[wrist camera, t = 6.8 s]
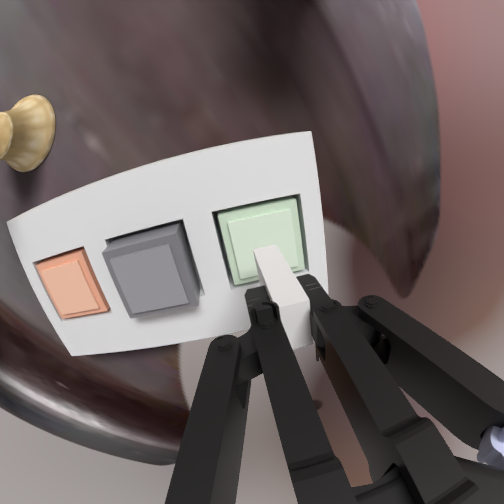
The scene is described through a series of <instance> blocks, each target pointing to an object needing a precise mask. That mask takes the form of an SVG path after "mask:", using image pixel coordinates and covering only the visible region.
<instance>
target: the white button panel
mask: <svg viewBox="0 0 504 504" xmlns="http://www.w3.org/2000/svg"><path fill="white" fill-rule="evenodd" d="M289 195H291V196H292V197H293V198H295V199H296V202H297V209H298V216H299V224H300V232H301V240H302V248H303V256H304V265H305V269H303V270H299V271H295V272H293V273H294V275H295V276H296V277H297V276H301V275H305V274H310V275H312V276H314V277H315V278H316V279H317V280H318V282H319V283H320V285H321V286H322V287H323V289H324V290H325V291H326V293H327V294H328V278H327V263H326V249H325V237H324V226H323V216H322V207H321V198H320V189H319V181H318V174H317V166H316V159H315V153H314V146H313V140H312V134H311V131H307V132H295V133H287V134H280V135H274V136H268V137H262V138H256V139H250V140H245V141H240V142H234V143H229V144H225V145H220V146H215V147H211V148H207V149H202V150H198V151H194V152H190V153H186V154H182V155H178V156H175V157H171V158H167V159H164V160H160V161H157V162H153V163H150V164H147V165H143V166H140V167H137V168H134V169H131V170H128V171H125V172H122V173H119V174H116V175H113V176H110V177H107V178H104V179H102V180H99V181H96V182H93V183H91V184H88V185H86V186H83V187H81V188H78V189H76V190H73V191H71V192H68V193H66V194H63V195H61V196H59V197H56V198H54V199H52V200H50V201H47V202H45V203H43V204H41V205H39V206H37V207H34V208H32V209H30V210H28V211H26V212H24V213H23V214H21V215H19V216H17V217H15V218H13V219H11V220H10V221H8V222H7V225H8V228H9V231H10V234H11V237H12V240H13V243H14V245H15V248H16V251H17V253H18V256H19V258H20V261H21V263H22V265H23V268H24V270H25V272H26V275H27V277H28V279H29V281H30V283H31V285H32V288H33V290H34V292H35V294H36V296H37V298H38V300H39V302H40V303H41V305H42V307H43V309H44V311H45V313H46V315H47V316H48V318H49V320H50V322H51V323H52V325H53V327H54V329H55V330H56V332H57V334H58V335H59V337H60V338H61V340H62V342H63V343H64V345H65V346H66V348H67V349H68V351H69V352H70V354H71V355H72V356H79V355H91V354H101V353H111V352H120V351H128V350H136V349H144V348H151V347H158V346H164V345H171V344H177V343H183V342H189V341H194V340H200V339H205V338H211V337H216V336H221V335H226V334H231V333H236V332H240V331H245V330H249V329H250V327H251V322H250V318H249V314H248V309H247V304H246V300H245V296H244V295H245V293H246V290H247V289H251V288H255V287H259V286H260V283H259V280H256V281H252V282H247V283H243V284H238V285H235V284H234V280H233V277H232V273H231V269H230V264H229V260H228V256H227V252H226V248H225V244H224V240H223V236H222V232H221V227H220V223H219V219H218V210H222V209H227V208H231V207H236V206H240V205H245V204H249V203H254V202H259V201H264V200H269V199H274V198H279V197H284V196H289ZM180 221H181V224H182V228H183V231H184V235H185V238H186V242H187V245H188V249H189V252H190V255H191V259H192V262H193V265H194V269H195V272H196V275H197V278H198V281H199V285H200V294H199V306H195V307H190V308H185V309H180V310H175V311H169V312H164V313H159V314H153V315H148V316H142V317H137V318H131V319H130V317H129V315H128V313H127V311H126V309H125V307H124V305H123V302H122V300H121V298H120V296H119V294H118V291H117V289H116V287H115V285H114V282H113V280H112V278H111V275H110V273H109V270H108V268H107V265H106V263H105V260H104V258H103V255H102V252H103V251H104V250H105V248H106V247H107V246H108V245H109V244H110V243H111V242H112V241H113V240H114V239H115V238H119V237H123V236H126V235H130V234H133V233H137V232H141V231H145V230H148V229H152V228H156V227H160V226H164V225H168V224H172V223H176V222H180ZM82 246H84V248H85V251H86V253H87V256H88V258H89V261H90V263H91V266H92V268H93V271H94V273H95V275H96V278H97V280H98V282H99V284H100V287H101V289H102V291H103V293H104V295H105V298H106V300H107V302H108V304H109V306H110V307H109V309H108V311H105V312H99V313H93V314H88V315H82V316H76V317H70V318H64V319H62V318H61V316H60V314H59V312H58V311H57V309H56V307H55V305H54V303H53V301H52V299H51V297H50V295H49V293H48V291H47V289H46V287H45V285H44V283H43V281H42V278H41V276H40V274H39V272H38V269H37V267H36V265H38V264H39V263H40V262H41V261H42V260H43V259H44V258H47V257H50V256H53V255H57V254H60V253H63V252H66V251H69V250H72V249H75V248H79V247H82Z"/></svg>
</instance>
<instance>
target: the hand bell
mask: <svg viewBox="0 0 504 504" xmlns="http://www.w3.org/2000/svg"><path fill="white" fill-rule="evenodd" d="M55 127H56V122H55V114H54V111H53V108H52V105H51V104H50V102H49V101H48V100H47V99H46V98H45V97H43V96H40V95H30V96H27V97H25V98H23V99H22V100H20V101H19V102H18V103H16V104H15V106H14V107H13V108H12V109H11V110H10V111H5V112H0V160H6V162H7V163H8V164H9V165H10V166H11V167H12V168H13V169H15V170H17V171H19V172H28V171H31V170H33V169H35V168H37V167H38V166H39V165H40V164H41V163H42V162H43V161H44V159H45V158H46V156H47V155H48V153H49V151H50V149H51V146H52V143H53V140H54V136H55Z"/></svg>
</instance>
